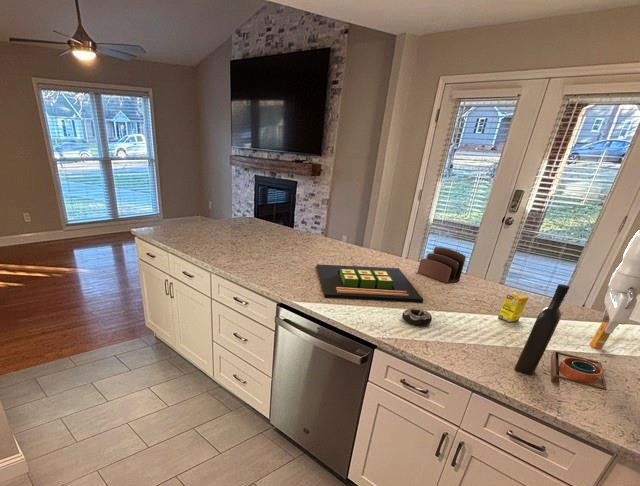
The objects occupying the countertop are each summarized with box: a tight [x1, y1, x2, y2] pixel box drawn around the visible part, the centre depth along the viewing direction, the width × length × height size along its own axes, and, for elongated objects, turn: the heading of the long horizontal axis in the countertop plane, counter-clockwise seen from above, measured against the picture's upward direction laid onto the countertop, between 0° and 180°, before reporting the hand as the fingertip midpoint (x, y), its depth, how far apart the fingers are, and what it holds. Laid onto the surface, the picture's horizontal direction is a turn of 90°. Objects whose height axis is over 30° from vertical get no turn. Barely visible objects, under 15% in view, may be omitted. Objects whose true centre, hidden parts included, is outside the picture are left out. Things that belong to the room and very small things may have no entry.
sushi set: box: [316, 263, 424, 304], centre depth 207 cm, size 45×45×4 cm
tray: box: [550, 350, 607, 391], centre depth 139 cm, size 14×20×2 cm
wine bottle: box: [514, 283, 570, 376], centre depth 133 cm, size 6×6×30 cm
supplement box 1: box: [497, 291, 530, 324], centre depth 174 cm, size 6×6×11 cm
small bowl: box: [570, 361, 596, 374], centre depth 136 cm, size 7×7×4 cm
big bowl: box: [557, 356, 604, 384], centre depth 136 cm, size 11×11×5 cm
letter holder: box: [417, 246, 467, 284], centre depth 218 cm, size 10×20×14 cm, turn 30°
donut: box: [401, 307, 433, 327], centre depth 171 cm, size 12×12×4 cm
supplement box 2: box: [589, 321, 611, 350], centre depth 155 cm, size 3×3×10 cm
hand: (606, 326), depth 127 cm, fingers open, 8 cm apart
